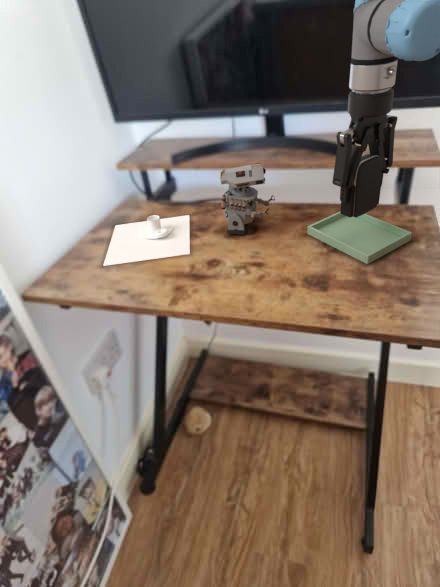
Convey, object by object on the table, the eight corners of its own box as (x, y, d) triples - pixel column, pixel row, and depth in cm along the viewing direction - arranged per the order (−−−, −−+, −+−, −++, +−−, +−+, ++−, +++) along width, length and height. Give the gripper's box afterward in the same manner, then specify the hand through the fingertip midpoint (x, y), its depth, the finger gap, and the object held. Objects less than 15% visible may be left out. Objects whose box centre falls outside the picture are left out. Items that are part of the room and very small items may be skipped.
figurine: (268, 237, 93) (265, 174, 84) (221, 235, 96) (213, 174, 87) (275, 218, 100) (273, 158, 91) (231, 217, 103) (224, 159, 94)
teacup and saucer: (172, 239, 98) (168, 224, 95) (139, 244, 98) (135, 229, 95) (173, 222, 105) (170, 208, 102) (142, 227, 105) (139, 212, 102)
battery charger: (363, 202, 87) (368, 149, 80) (377, 207, 85) (384, 153, 78) (340, 213, 85) (344, 160, 78) (355, 219, 82) (360, 164, 75)
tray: (410, 240, 85) (412, 232, 84) (367, 264, 80) (368, 256, 79) (348, 214, 97) (349, 207, 96) (307, 233, 92) (307, 226, 91)
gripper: (347, 105, 64) (338, 231, 78) (427, 78, 72) (406, 198, 85) (313, 99, 69) (311, 219, 83) (391, 75, 77) (377, 188, 91)
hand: (359, 208), depth 84 cm, fingers closed on battery charger, 7 cm apart
